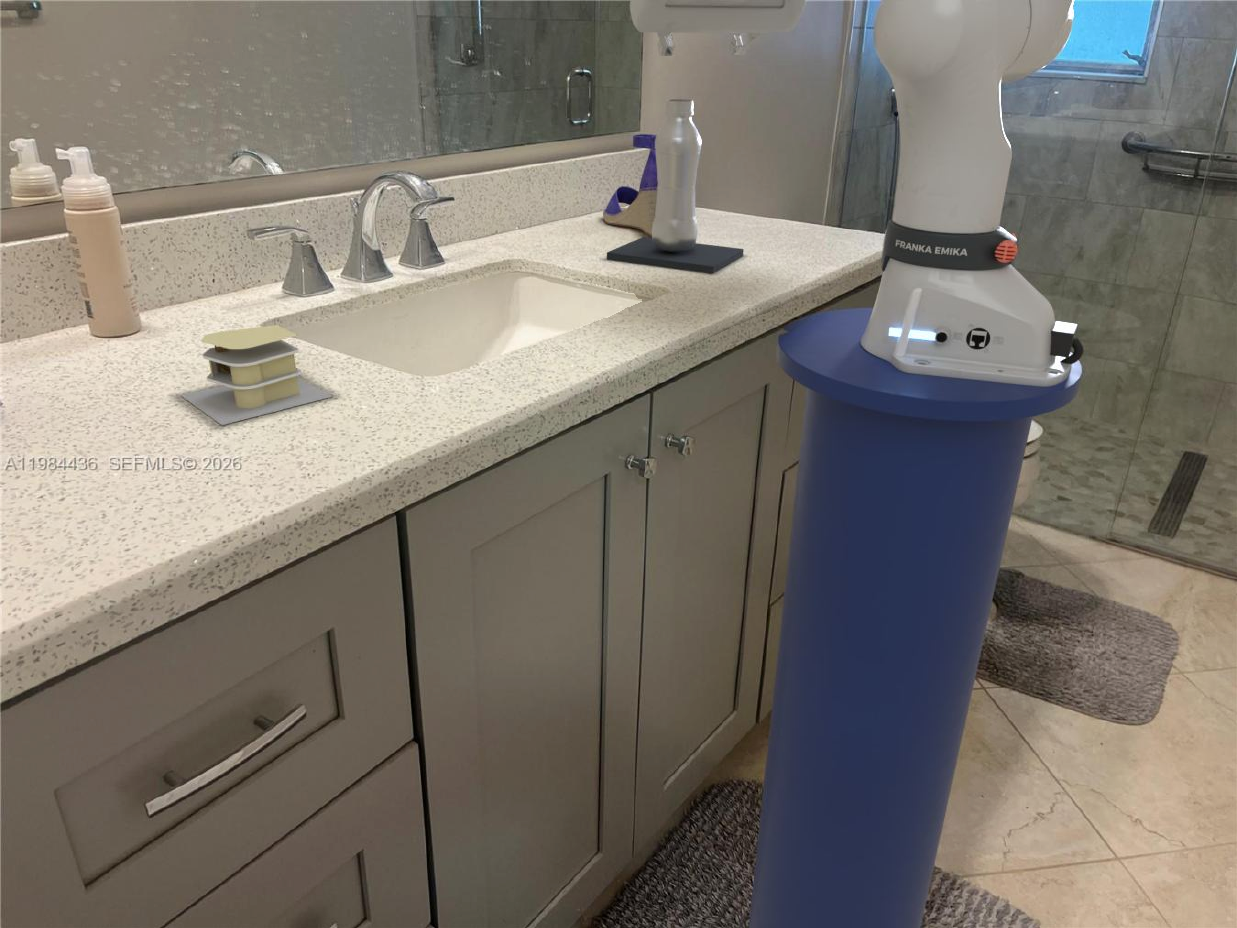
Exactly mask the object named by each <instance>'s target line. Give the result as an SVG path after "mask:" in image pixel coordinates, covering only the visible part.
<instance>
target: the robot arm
mask: <svg viewBox="0 0 1237 928" xmlns="http://www.w3.org/2000/svg"><path fill="white" fill-rule="evenodd" d="M807 1H808V0H630V1H629V12H630V13H629V14H630V16H631V20H632V24H633V26H634V27H635V29H636V30H637V31H638V32H639V33H657V37H658V42H657V51H658V55H659V56H660V57H671V56H673V52H674V50H675V47H676V46H675V42H674V38H673V37H674V36H673V34H674V33H681V34H683V33H685V34H686V33H689V34H690V33H692V34H693V33H695V34H697V33H701V34H702V33H703V34H705V33H710V34H711V33H713V34H715V33H716V34H717V33H718V34H723V33H724V34H734V35H733V36H732V41H730V44H729V49H730V51H731V55H732V56H733V57H734V56H735V57H737V56H738V57H744V56H745V55H746V53H747V50H748V48H749V47H751V46H752V45H753V44H754V43H756V42H757V41H759V39H761V38H762V36H763V34H787V33H789V32H791V31H792V30H793V29H795V28H796V27H797V25H798V24H799V21H800V20H801V17H802V15H803V13H804V10H805V7H806V5H807ZM1074 1H1075V0H881V1H880V3H879V5H878V8H877V10H876V12H875V13H876V14H875V18H874V23H873V41H874V42H873V43H874V49H875V51H876V54H877V57H878V59H879V61H880V63H881V64H882V66H883V67H884V69H885V70H886V72H887V73H888V75H889V77H890V79H891V82H892V86H893V91H894V95H895V100H896V101H895V102H896V108H897V114H898V116H897V117H898V125H899V135H900V136H899V143H900V145H899V162H898V168H897V178H896V186H895V194H894V202H893V208H892V218H891V219H889V220H888V221H887V225H886V229H885V231H884V237H883V242H882V250H881V259H880V262H881V271H882V274H881V279H880V280H881V281H880V285H879V288H878V292H877V294H876V299H875V302H874V305H873V307H872V308H873V311H872V314H871V317H870V320H869V322H868V325H867V327H866V330H865V332H864V334H863V336H862V338H861V341H860V343H861V345H862V347H863V348H864V349H865V350H866V351H868V352H869V353H871V354H873V355H875V356H877V357H879V358H882V359H884V360H886V361H888V362H890V363H891V364H892V365H893V366H894V367H896V368H897V369H898V370H900V371H902V372H906V373H913V374H922V375H932V376H942V377H951V378H961V379H971V380H981V381H990V382H1000V383H1010V384H1019V385H1029V386H1039V387H1049V386H1053V385H1057V384H1059V383H1061V382H1063V381H1065V380H1066V379H1067V378H1068V376H1069V375H1070V372H1071V367H1072V364H1073V363H1075V362H1077V361H1078V360H1079V361H1080V359H1081V358H1082V357H1083V354H1084V346H1083V344H1082V342H1081V341H1080V339H1079V338H1078V337H1076V334H1077V330H1078V325H1079V324H1078V323H1072V322H1065V321H1059V320H1056V317H1055V313H1054V309H1053V306H1052V305H1051V302H1050V301H1049V300H1048V299H1047V298H1046V297H1045V296H1044V295H1043V294H1042V293H1041V292H1039V291H1038V289H1037V288H1036V287H1034V285H1032V283H1031V282H1029V281H1028V280H1027V279H1026V278H1025V277H1024V276H1023V275H1022V274H1021V273H1020V272H1019V271H1018V270H1017V269H1016V268H1015V267H1013V265H1012V264H1013V262H1014V259H1015V258H1016V256H1017V254H1018V251H1019V248H1018V239H1017V236H1016V233H1014V232H1012V234H1011V233H1010V232H1008V231H1007V230H1006V229H1004V228H1003V227H1002V226H1001V224H1000V223H1001V218H1002V213H1003V209H1004V202H1005V196H1006V191H1007V186H1008V180H1009V175H1010V169H1011V164H1012V159H1013V150H1012V147H1011V146H1012V145H1011V143H1010V141H1009V139H1008V138H1007V136H1006V134H1005V131H1004V125H1003V118H1002V117H1003V116H1002V105H1001V84H1008V83H1013V82H1016V81H1020V80H1022V79H1025V78H1026V77H1029V76H1031V75H1033V74H1035V73H1036V72H1038V71H1039V70H1042V69H1043V68H1045V67H1047V66H1048V65H1050V64H1051V63H1052V62H1053V61H1054V60H1055V59H1056V58H1057V57H1058V56H1059V55H1060V54H1061V52H1062V51H1063V50H1064V48H1065V47H1066V45H1067V42H1068V40H1069V38H1070V36H1071V33H1072V29H1073V23H1074V9H1073V8H1074V7H1073V5H1074ZM672 33H673V34H672ZM735 34H736V35H735ZM1072 350H1073V352H1072ZM1070 353H1073V354H1072V355H1071V354H1070Z"/></svg>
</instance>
